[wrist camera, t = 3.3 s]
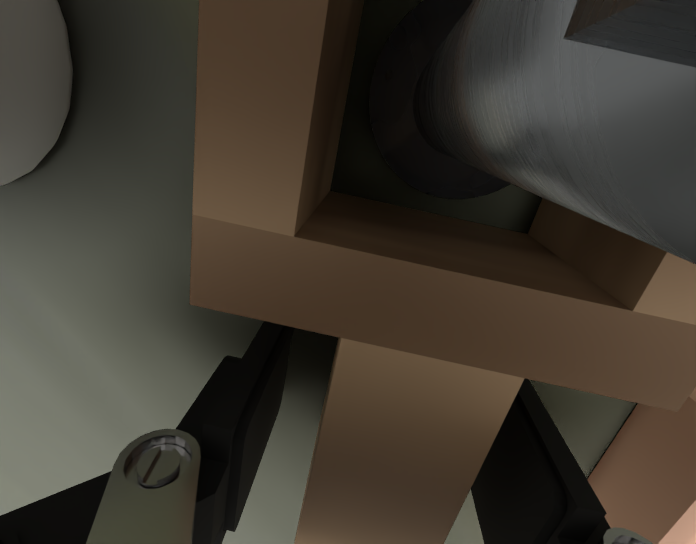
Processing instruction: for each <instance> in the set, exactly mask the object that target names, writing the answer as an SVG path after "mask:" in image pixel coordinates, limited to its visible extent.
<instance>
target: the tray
mask: <svg viewBox="0 0 696 544" xmlns="http://www.w3.org/2000/svg"><path fill="white" fill-rule="evenodd" d="M587 480H588V482H589V484H590V485H591V487H592V489H593V491H594V492H595V494H596V496H597V497H598V499H599V501H600V503H601V504H602V506H603V508H604V509H605V511H606V513H607V514H606V515H605V516H604V517H605V519H606V520H607V522H608V524H609V526H610V527H611V528H614V527H616V528H625V529H627V530H630V531H633V532H635V533H637V534H639V535H641V536H642V537H644V538H646V539H647V540H649V541H650V542H652V543H653V544H696V387H695V389H694V390H693V391H692V393H691V394H690V396H689V397H688V398H687V400H686V401H685V402H684V404H683V405H682V407H681V408H680V409H679V411H678V412H675V411H671V410H666V409H662V408H657V407H653V406H648V405H644V404H639V403H638V404H637V406H636V407H635V409H634V410H633V412H632V413H631V415H630V416H629V418H628V419H627V421H626V422H625V424H624V425H623V427H622V428H621V430H620V431H619V433H618V434H617V436H616V437H615V439H614V440H613V442H612V443H611V445H610V446H609V448H608V449H607V451H606V452H605V454H604V455H603V457H602V458H601V460H600V461H599V463H598V464H597V466H596V467H595V469H594V470H593V472H592V473H591V475H590V476H589V478H588V479H587Z"/></svg>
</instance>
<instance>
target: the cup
mask: <svg viewBox="0 0 696 544" xmlns="http://www.w3.org/2000/svg"><path fill="white" fill-rule="evenodd" d="M72 79H73V66H72V59H71V52H70V45H69V38H68V31H67V26H66V23H65V21H64V18H63V15H62V12H61V9H60V6H59V3H58V1H57V0H0V186H2V185H6V184H8V183H10V182H12V181H13V180H15V179H17V178H19V177H21V176H23V175H25V174H27V173H29V172H31V171H32V170H33V169H34V168H35V167H36V166H37V165H38V163H39V162H40V161H41V160H42V159H43V158H44V157H45V155H46V154H47V153H48V152H49V151H50V150H51V149H52V147H53V146H54V144H55V143H56V141H57V140H58V138H59V135H60V132H61V130H62V127H63V125H64V122H65V120H66V117H67V114H68V112H69V109H70V100H71V89H72Z"/></svg>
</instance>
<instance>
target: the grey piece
mask: <svg viewBox="0 0 696 544" xmlns="http://www.w3.org/2000/svg"><path fill="white" fill-rule="evenodd" d="M369 110H370V120H371V125H372V130H373V134H374V137H375V140H376V143H377V146H378V148H379V150H380V152H381V154H382V155H383V157H384V159H385V160H386V162H387V163H388V165H389V166H390V167H391V168H392V170H393V171H394V172H395V173H396V174H397V175H398V176H399V177H400V178H401V179H403V180H404V181H405V182H406V183H408V184H409V185H411V186H412V187H414V188H416V189H417V190H420V191H422V192H424V193H426V194H429V195H433V196H436V197H441V198H448V199H467V198H475V197H479V196H483V195H487V194H489V193H492V192H495V191H498V190H500V189H502V188H504V187H505V186H507V185H509V184H513V185H515V186H517V187H520V188H522V189H524V190H527V191H529V192H531V193H533V194H536V195H538V196H540V197H543V198H545V199H547V200H549V201H552V202H554V203H556V204H559V205H561V206H563V207H565V208H568V209H570V210H572V211H575V212H577V213H579V214H581V215H584V216H586V217H588V218H591V219H593V220H595V221H597V222H600V223H602V224H604V225H607V226H609V227H611V228H613V229H616V230H618V231H620V232H623V233H625V234H627V235H629V236H632V237H634V238H636V239H639V240H641V241H643V242H645V243H648V244H650V245H652V246H655V247H657V248H659V249H661V250H664V251H666V252H668V253H671V254H673V255H675V256H677V257H680V258H682V259H684V260H687V261H689V262H691V263H693V264H696V0H424V1H423V2H421V3H420V4H418V5H417V6H416V7H415V8H414V9H413V10H412V11H410V12H409V13H408V14H407V15H406V16H405V17H404V19H403V20H402V21H401V22H400V23H399V24H398V25H397V26H396V28H395V29H394V31H393V32H392V34H391V35H390V37H389V38H388V40H387V42H386V43H385V45H384V47H383V49H382V51H381V53H380V56H379V58H378V61H377V63H376V66H375V70H374V73H373V77H372V82H371V89H370V102H369Z"/></svg>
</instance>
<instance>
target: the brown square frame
mask: <svg viewBox="0 0 696 544" xmlns="http://www.w3.org/2000/svg"><path fill="white" fill-rule="evenodd" d="M363 5H364V0H199V20H198V52H197V83H196V115H195V146H194V178H193V210H192V241H191V273H190V305H194V306H199V307H203V308H208V309H212V310H217V311H221V312H226V313H230V314H235V315H239V316H244V317H249V318H253V319H258V320H262V321H267V322H271V323H276V324H280V325H285V326H289V327H294V328H298V329H303V330H308V331H312V332H317V333H321V334H326V335H330V336H335V337H339V338H338V342H337V347H336V351H335V355H334V360H333V364H332V369H331V373H330V378H329V382H328V387H327V391H326V396H325V400H324V404H323V409H322V413H321V418H320V422H319V427H318V432H317V437H316V441H315V446H314V451H313V456H312V461H311V465H310V470H309V475H308V480H307V485H306V489H305V494H304V499H303V504H302V509H301V513H300V518H299V523H298V528H297V533H296V537H295V542H294V544H444V542H445V540H446V538H447V536H448V534H449V532H450V530H451V528H452V526H453V523H454V521H455V519H456V517H457V515H458V513H459V511H460V509H461V507H462V505H463V503H464V501H465V499H466V497H467V495H468V493H469V491H470V489H471V487H472V485H473V483H474V481H475V479H476V477H477V474H478V472H479V470H480V468H481V466H482V464H483V462H484V460H485V458H486V456H487V454H488V452H489V450H490V448H491V446H492V444H493V442H494V440H495V438H496V436H497V434H498V432H499V430H500V427H501V425H502V423H503V421H504V419H505V417H506V415H507V413H508V411H509V409H510V407H511V405H512V403H513V401H514V399H515V397H516V395H517V393H518V391H519V389H520V387H521V385H522V383H523V381H524V378H526V379H530V380H535V381H539V382H544V383H548V384H553V385H557V386H562V387H566V388H571V389H575V390H580V391H585V392H589V393H594V394H598V395H603V396H607V397H612V398H616V399H621V400H625V401H630V402H634V403H639V404H644V405H648V406H653V407H657V408H662V409H666V410H671V411H675V412H678V411H679V409H680V408H681V407H682V405H683V404H684V402H685V401H686V400H687V398H688V397H689V396H690V394H691V393H692V391H693V390H694V389H695V387H696V264H693V263H691V262H689V261H687V260H684V259H682V258H680V257H677V256H675V255H673V254H671V253H668V252H666V251H664V250H661V249H659V248H657V247H655V246H652V245H650V244H648V243H645V242H643V241H641V240H639V239H636V238H634V237H632V236H629V235H627V234H625V233H623V232H620V231H618V230H616V229H613V228H611V227H609V226H607V225H604V224H602V223H600V222H597V221H595V220H593V219H591V218H588V217H586V216H584V215H581V214H579V213H577V212H575V211H572V210H570V209H568V208H565V207H563V206H561V205H559V204H556V203H554V202H552V201H549V200H547V199H545V198H542V201H541V203H540V206H539V208H538V211H537V213H536V215H535V218H534V220H533V223H532V225H531V228H530V230H529V232H528V234H525V233H520V232H515V231H511V230H506V229H502V228H497V227H493V226H488V225H483V224H479V223H474V222H470V221H465V220H461V219H456V218H451V217H447V216H442V215H438V214H433V213H429V212H424V211H420V210H415V209H410V208H406V207H401V206H397V205H392V204H388V203H383V202H378V201H374V200H369V199H365V198H360V197H356V196H351V195H346V194H342V193H337V192H333V191H330V188H331V183H332V177H333V172H334V166H335V161H336V155H337V149H338V144H339V138H340V133H341V127H342V122H343V116H344V110H345V105H346V99H347V94H348V88H349V83H350V77H351V72H352V66H353V60H354V55H355V49H356V44H357V38H358V33H359V27H360V22H361V16H362V10H363Z"/></svg>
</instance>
